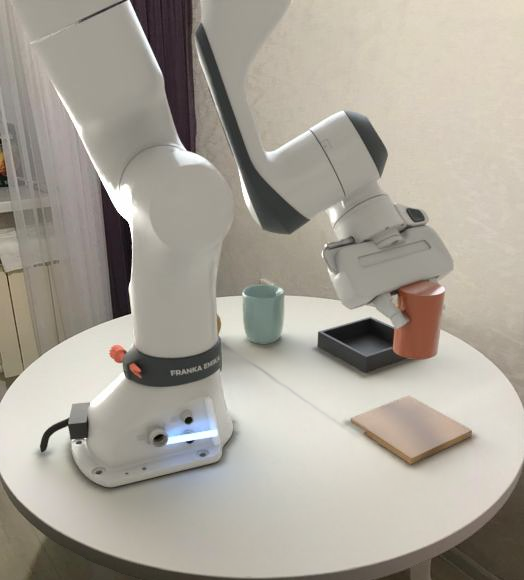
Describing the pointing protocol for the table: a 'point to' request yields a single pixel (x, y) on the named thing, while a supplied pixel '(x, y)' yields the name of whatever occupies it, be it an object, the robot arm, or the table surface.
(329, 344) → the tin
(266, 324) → the cup
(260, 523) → the table surface
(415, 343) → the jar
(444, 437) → the board
